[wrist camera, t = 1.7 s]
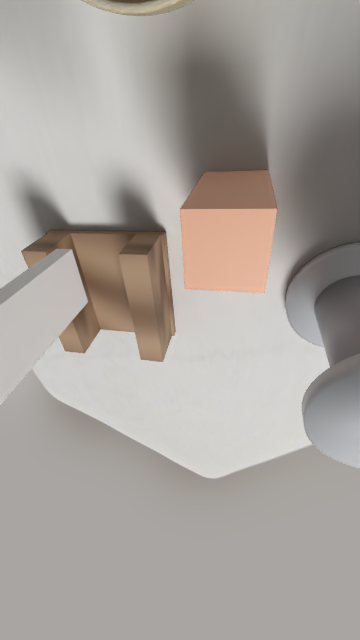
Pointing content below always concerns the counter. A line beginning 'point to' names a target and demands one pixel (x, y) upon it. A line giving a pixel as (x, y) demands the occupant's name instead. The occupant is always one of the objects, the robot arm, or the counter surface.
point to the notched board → (117, 286)
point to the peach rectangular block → (228, 231)
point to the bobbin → (331, 348)
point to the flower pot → (138, 6)
